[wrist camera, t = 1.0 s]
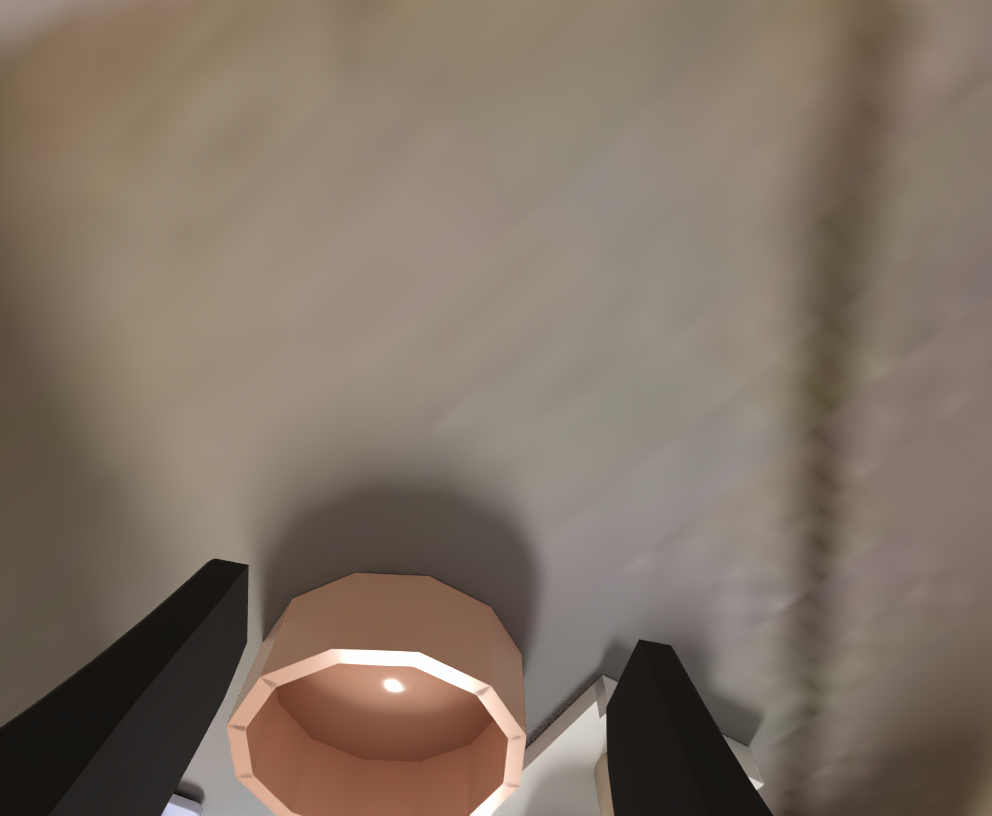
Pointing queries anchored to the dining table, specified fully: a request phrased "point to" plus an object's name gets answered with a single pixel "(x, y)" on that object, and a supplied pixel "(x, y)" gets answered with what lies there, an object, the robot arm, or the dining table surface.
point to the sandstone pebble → (603, 787)
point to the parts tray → (578, 761)
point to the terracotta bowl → (382, 704)
